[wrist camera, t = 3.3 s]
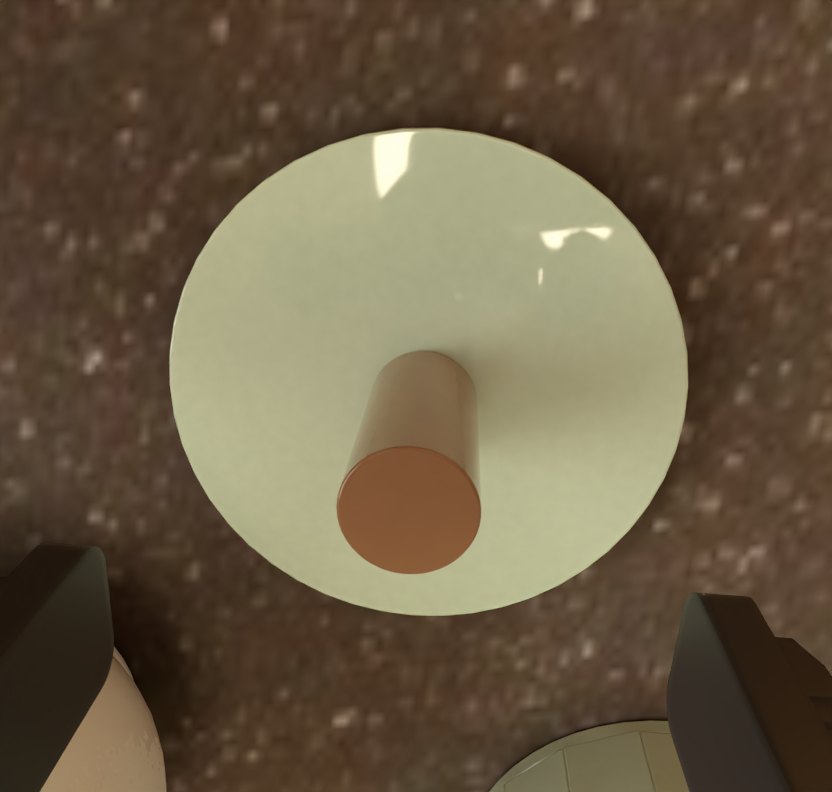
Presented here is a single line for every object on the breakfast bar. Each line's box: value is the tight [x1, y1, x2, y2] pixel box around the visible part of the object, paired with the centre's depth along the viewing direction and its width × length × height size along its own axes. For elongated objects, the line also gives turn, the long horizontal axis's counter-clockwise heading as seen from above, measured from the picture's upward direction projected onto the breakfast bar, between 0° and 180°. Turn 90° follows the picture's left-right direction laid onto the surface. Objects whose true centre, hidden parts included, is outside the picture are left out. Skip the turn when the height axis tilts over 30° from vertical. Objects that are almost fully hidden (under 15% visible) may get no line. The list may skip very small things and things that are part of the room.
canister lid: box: [170, 127, 688, 616], centre depth 17 cm, size 13×13×7 cm
